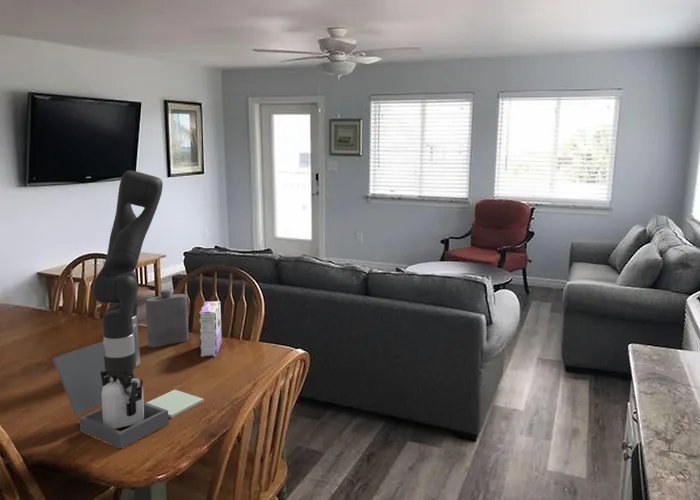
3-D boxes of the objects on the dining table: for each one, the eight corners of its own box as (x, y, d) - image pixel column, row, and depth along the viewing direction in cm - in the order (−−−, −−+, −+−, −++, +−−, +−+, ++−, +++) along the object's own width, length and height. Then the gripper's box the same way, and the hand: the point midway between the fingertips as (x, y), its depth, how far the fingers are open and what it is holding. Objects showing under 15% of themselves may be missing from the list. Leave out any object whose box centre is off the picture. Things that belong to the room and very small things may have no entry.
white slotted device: (142, 416, 158) (139, 373, 155) (146, 422, 154) (144, 379, 152) (101, 425, 152) (98, 381, 150) (105, 432, 149) (102, 387, 146)
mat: (142, 407, 165) (142, 404, 165) (174, 392, 175) (174, 389, 175) (172, 417, 159) (171, 415, 159) (203, 401, 169) (203, 398, 169)
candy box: (206, 343, 217) (204, 300, 214) (222, 343, 217) (220, 300, 214) (200, 357, 203) (198, 311, 200) (217, 356, 204) (215, 311, 201)
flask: (185, 336, 224) (183, 286, 220) (190, 341, 219) (188, 289, 215) (145, 344, 215) (142, 291, 212) (150, 348, 211) (147, 295, 207)
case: (80, 432, 151) (79, 417, 150) (128, 409, 163) (127, 396, 163) (121, 449, 143) (120, 434, 142) (168, 424, 155) (167, 410, 155)
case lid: (77, 414, 150) (74, 415, 151) (125, 393, 163) (122, 394, 164) (54, 357, 152) (51, 359, 153) (104, 340, 164) (101, 342, 165)
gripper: (150, 352, 149) (153, 413, 152) (113, 341, 156) (117, 399, 159) (125, 361, 142) (129, 425, 146) (88, 349, 150) (93, 410, 153)
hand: (123, 411), depth 152 cm, fingers closed on white slotted device, 5 cm apart
